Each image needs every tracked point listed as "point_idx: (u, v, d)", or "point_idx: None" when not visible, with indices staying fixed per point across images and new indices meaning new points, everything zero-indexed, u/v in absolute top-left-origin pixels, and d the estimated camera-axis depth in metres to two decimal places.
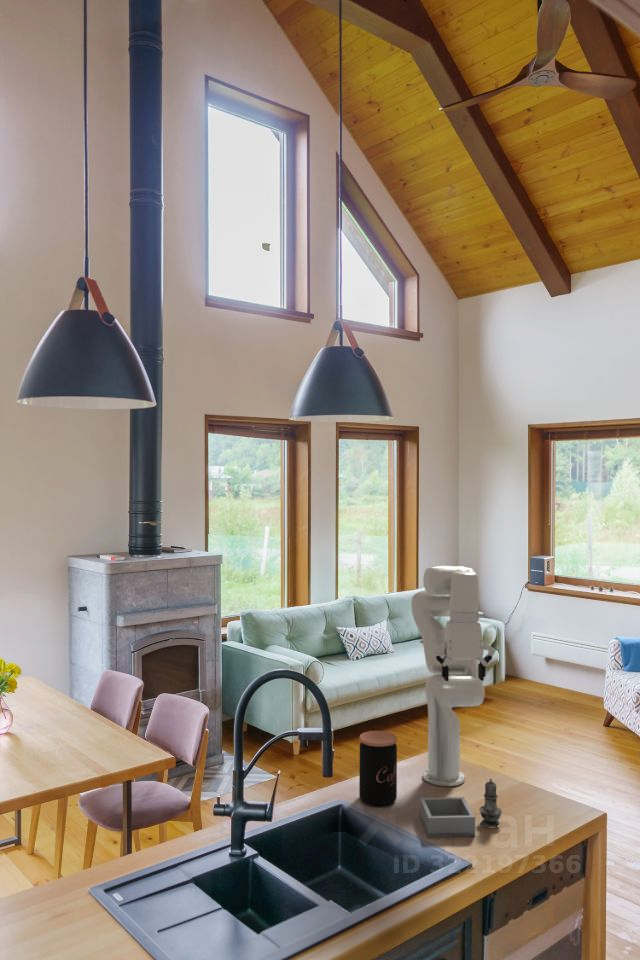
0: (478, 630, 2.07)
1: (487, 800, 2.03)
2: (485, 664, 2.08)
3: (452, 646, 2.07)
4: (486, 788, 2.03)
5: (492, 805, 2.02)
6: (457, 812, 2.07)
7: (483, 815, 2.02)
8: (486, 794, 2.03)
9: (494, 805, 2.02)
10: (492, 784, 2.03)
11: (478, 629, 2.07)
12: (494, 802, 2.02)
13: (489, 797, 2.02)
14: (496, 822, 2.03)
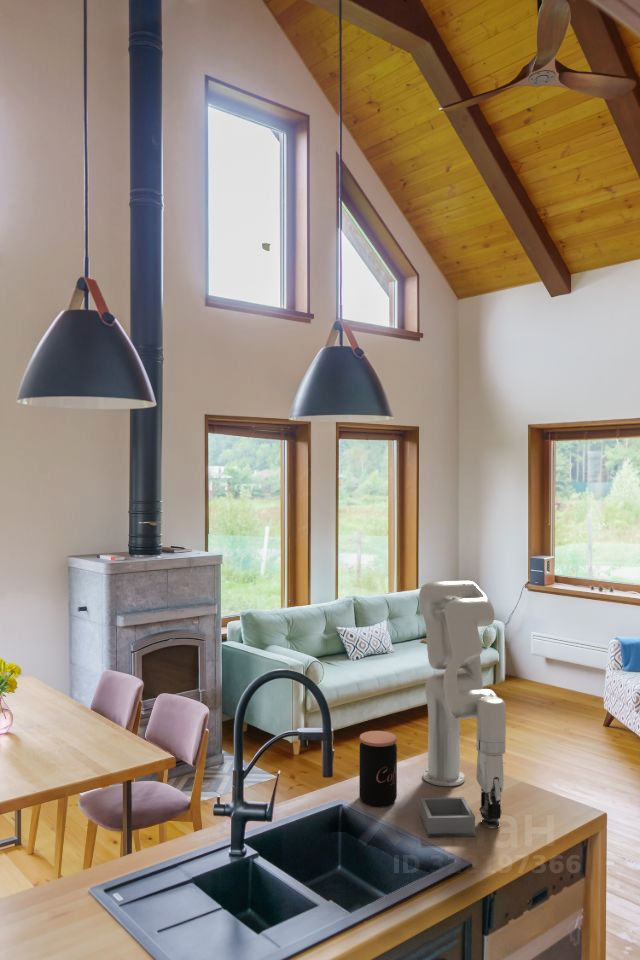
0: None
1: (487, 800, 2.03)
2: None
3: None
4: None
5: None
6: (457, 812, 2.07)
7: (483, 815, 2.02)
8: (486, 794, 2.03)
9: None
10: None
11: None
12: None
13: None
14: (496, 822, 2.03)
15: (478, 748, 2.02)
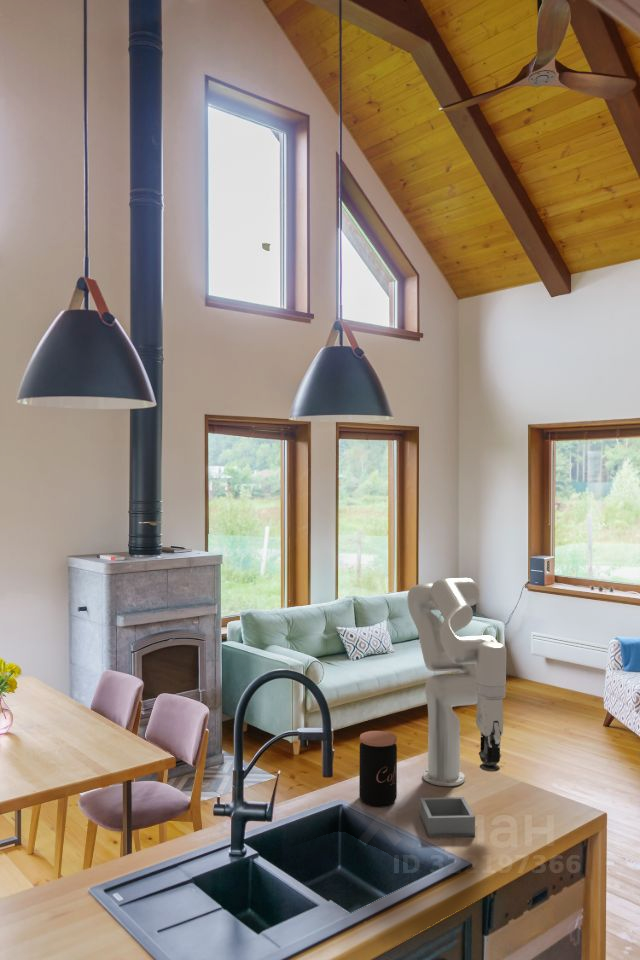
0: None
1: (486, 744, 2.03)
2: None
3: None
4: None
5: None
6: (457, 812, 2.07)
7: (482, 759, 2.03)
8: (486, 738, 2.03)
9: None
10: None
11: None
12: None
13: None
14: (495, 766, 2.04)
15: (478, 692, 2.02)
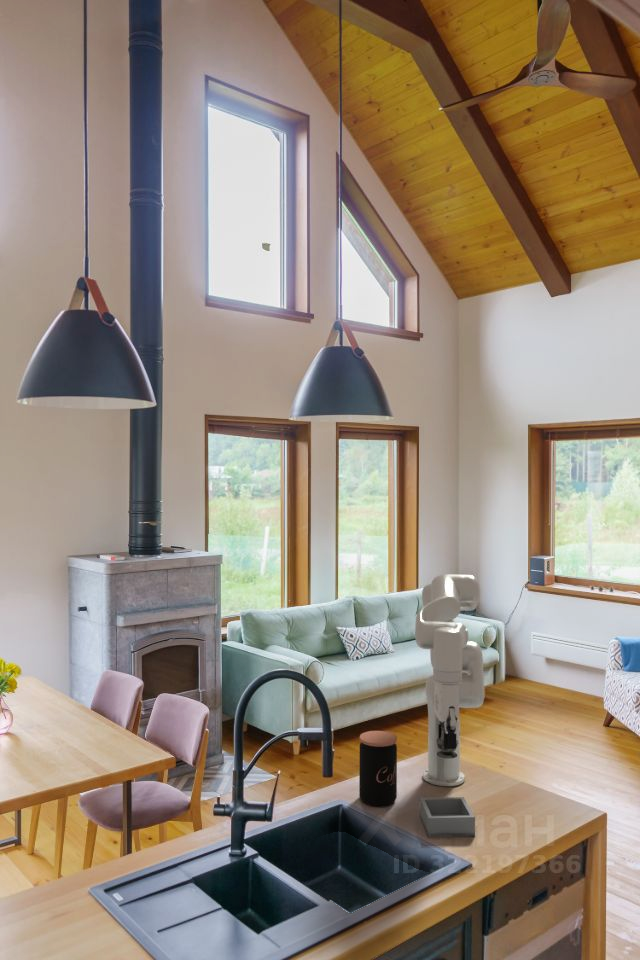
0: None
1: (443, 731, 2.01)
2: None
3: None
4: None
5: None
6: (457, 812, 2.07)
7: (439, 746, 2.01)
8: (443, 725, 2.01)
9: None
10: None
11: None
12: None
13: None
14: (453, 753, 2.01)
15: (434, 678, 2.01)
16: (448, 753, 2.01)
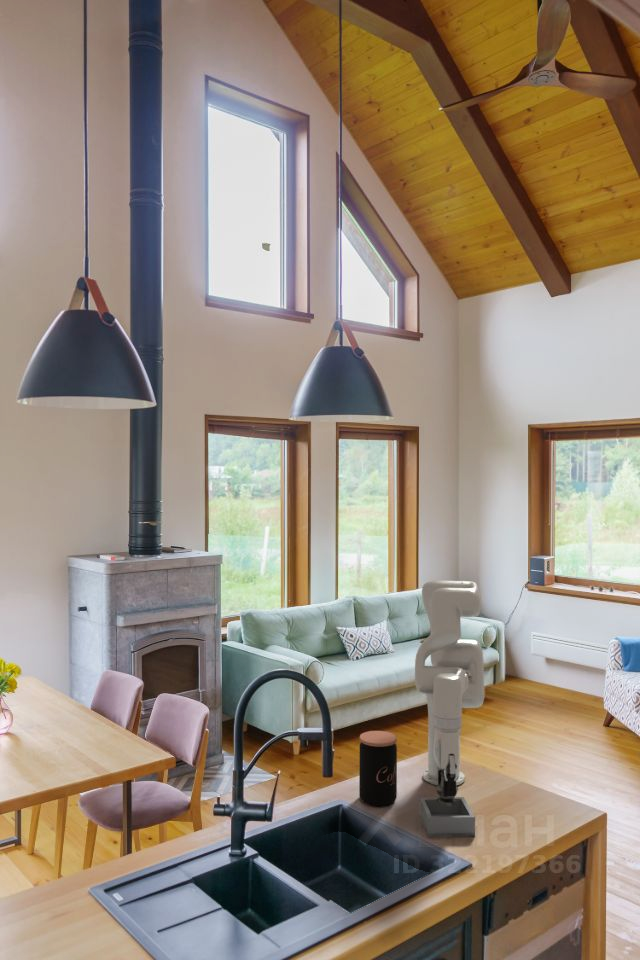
0: None
1: (443, 777, 2.01)
2: None
3: None
4: None
5: None
6: (457, 812, 2.07)
7: (439, 792, 2.00)
8: (442, 771, 2.01)
9: None
10: None
11: None
12: None
13: None
14: (452, 800, 2.01)
15: (434, 725, 2.01)
16: (448, 800, 2.01)
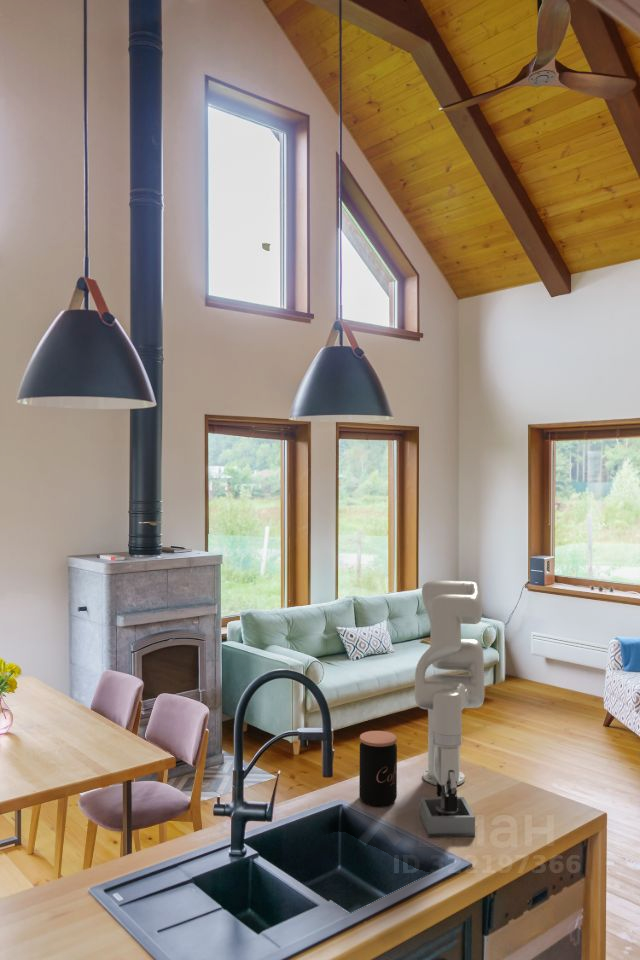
0: None
1: (443, 798, 2.01)
2: None
3: None
4: (442, 786, 2.02)
5: None
6: (457, 812, 2.07)
7: (439, 813, 2.01)
8: (442, 792, 2.02)
9: None
10: (448, 782, 2.01)
11: None
12: None
13: None
14: None
15: (434, 741, 2.01)
16: None
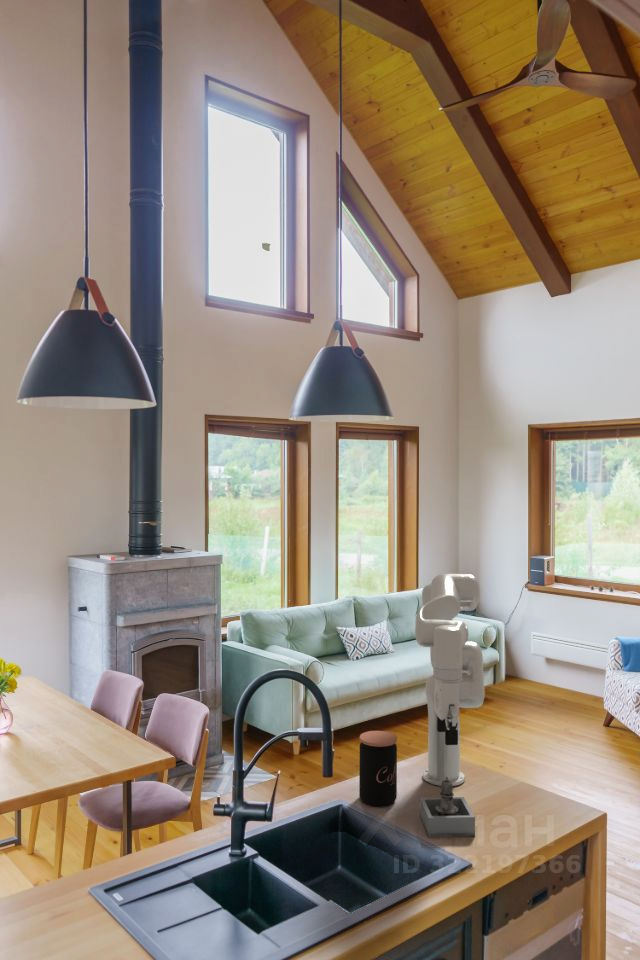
0: None
1: (443, 798, 2.01)
2: None
3: None
4: (442, 786, 2.02)
5: (448, 803, 2.01)
6: (457, 812, 2.07)
7: (439, 813, 2.01)
8: (442, 792, 2.02)
9: (450, 803, 2.01)
10: (448, 782, 2.01)
11: None
12: (450, 800, 2.01)
13: (445, 795, 2.01)
14: None
15: (434, 676, 2.01)
16: None
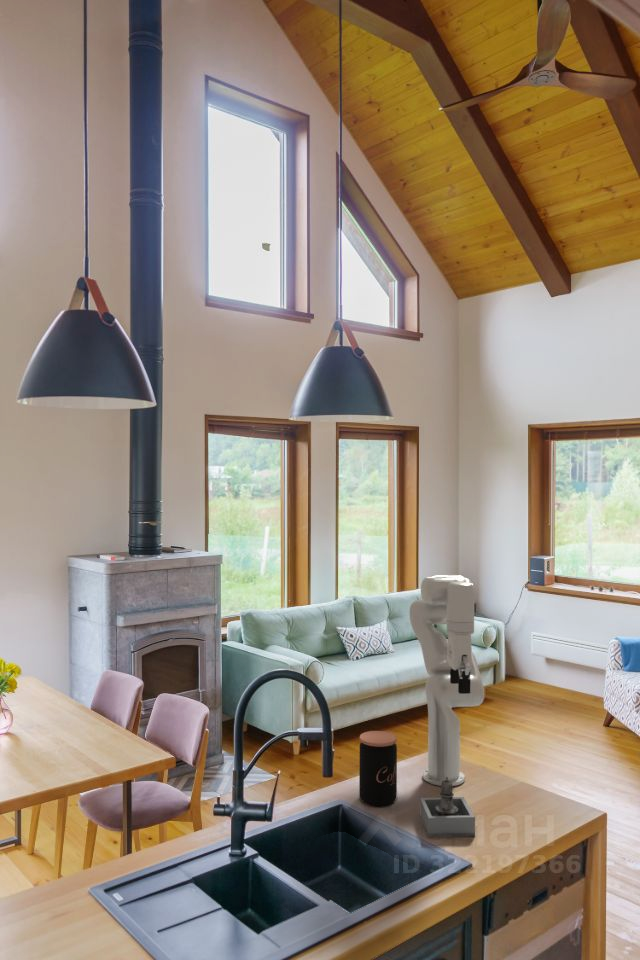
0: None
1: (443, 798, 2.01)
2: None
3: None
4: (442, 786, 2.02)
5: (448, 803, 2.01)
6: (457, 812, 2.07)
7: (439, 813, 2.01)
8: (442, 792, 2.02)
9: (450, 803, 2.01)
10: (448, 782, 2.01)
11: None
12: (450, 800, 2.01)
13: (445, 795, 2.01)
14: None
15: (448, 629, 2.12)
16: None
